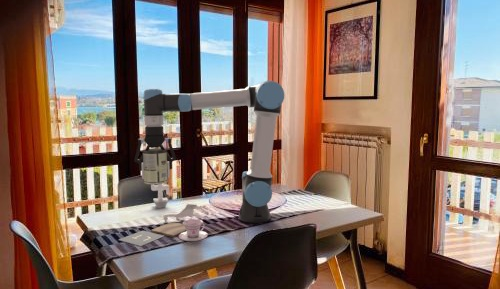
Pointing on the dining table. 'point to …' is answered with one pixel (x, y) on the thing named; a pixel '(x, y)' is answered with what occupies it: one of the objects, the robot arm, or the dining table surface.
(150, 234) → the tile
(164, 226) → the walnut board
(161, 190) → the figurine
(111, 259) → the dining table surface
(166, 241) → the dining table surface
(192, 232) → the teacup
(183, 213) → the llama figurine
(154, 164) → the coffee can
